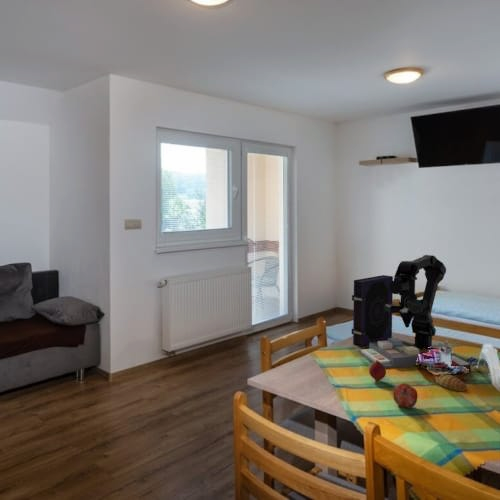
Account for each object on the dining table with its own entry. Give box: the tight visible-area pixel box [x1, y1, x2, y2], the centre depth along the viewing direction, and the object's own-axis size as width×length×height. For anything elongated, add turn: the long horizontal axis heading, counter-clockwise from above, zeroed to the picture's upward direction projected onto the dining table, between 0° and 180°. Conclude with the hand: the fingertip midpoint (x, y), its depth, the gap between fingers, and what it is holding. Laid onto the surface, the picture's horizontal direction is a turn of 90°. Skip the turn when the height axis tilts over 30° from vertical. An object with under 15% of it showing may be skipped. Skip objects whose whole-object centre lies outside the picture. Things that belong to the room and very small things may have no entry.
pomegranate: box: [392, 383, 419, 409], centre depth 148 cm, size 7×7×10 cm
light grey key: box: [378, 340, 392, 349], centre depth 196 cm, size 4×4×3 cm
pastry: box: [437, 374, 468, 392], centre depth 163 cm, size 9×7×4 cm
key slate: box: [387, 337, 404, 346], centre depth 200 cm, size 4×4×3 cm
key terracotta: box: [385, 350, 400, 354], centre depth 190 cm, size 4×4×3 cm
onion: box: [368, 360, 387, 382], centre depth 168 cm, size 6×6×8 cm
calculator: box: [435, 355, 472, 374], centre depth 180 cm, size 11×4×15 cm
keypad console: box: [357, 342, 418, 369], centre depth 193 cm, size 19×21×4 cm
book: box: [351, 274, 394, 348], centre depth 218 cm, size 24×6×30 cm, turn 130°
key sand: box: [403, 345, 420, 355], centre depth 188 cm, size 4×4×3 cm
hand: (407, 327), depth 197 cm, fingers closed
